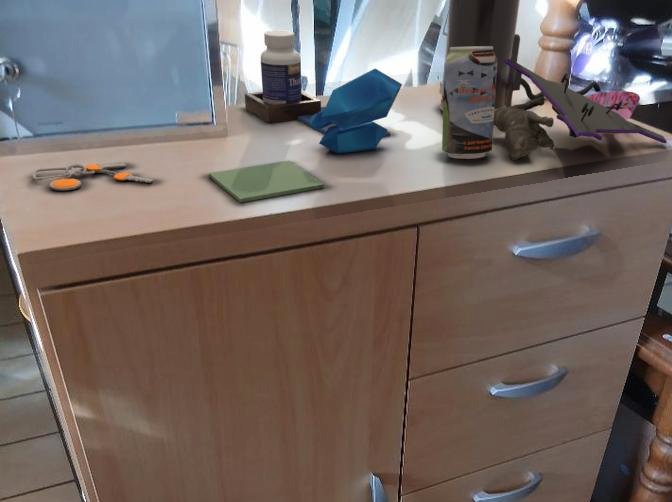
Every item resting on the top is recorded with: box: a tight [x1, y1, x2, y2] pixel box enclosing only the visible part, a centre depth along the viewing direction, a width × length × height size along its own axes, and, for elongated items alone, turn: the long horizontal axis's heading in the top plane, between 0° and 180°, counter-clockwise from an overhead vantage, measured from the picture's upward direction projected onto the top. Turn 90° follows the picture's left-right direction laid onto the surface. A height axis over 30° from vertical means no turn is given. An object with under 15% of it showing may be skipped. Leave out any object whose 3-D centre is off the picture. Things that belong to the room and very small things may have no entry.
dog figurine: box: [493, 96, 555, 161], centre depth 91 cm, size 12×6×7 cm
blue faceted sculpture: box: [309, 68, 403, 154], centre depth 90 cm, size 7×9×12 cm
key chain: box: [31, 163, 154, 191], centre depth 82 cm, size 13×7×1 cm, turn 106°
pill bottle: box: [260, 29, 302, 105], centre depth 101 cm, size 5×5×10 cm
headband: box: [584, 90, 641, 121], centre depth 100 cm, size 11×4×2 cm
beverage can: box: [441, 46, 497, 160], centre depth 87 cm, size 6×7×12 cm
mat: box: [208, 160, 325, 203], centre depth 83 cm, size 10×9×1 cm
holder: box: [244, 90, 322, 124], centre depth 104 cm, size 8×8×2 cm
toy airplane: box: [504, 59, 667, 144], centre depth 90 cm, size 23×26×5 cm
